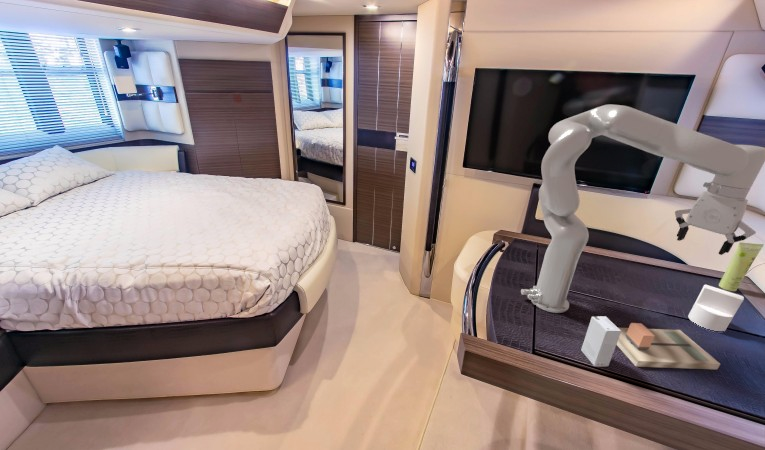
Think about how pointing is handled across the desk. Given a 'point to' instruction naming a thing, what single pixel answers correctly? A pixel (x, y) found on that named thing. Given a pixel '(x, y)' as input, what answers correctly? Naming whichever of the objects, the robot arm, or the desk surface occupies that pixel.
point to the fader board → (667, 351)
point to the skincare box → (600, 341)
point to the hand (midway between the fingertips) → (700, 246)
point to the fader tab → (639, 336)
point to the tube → (739, 265)
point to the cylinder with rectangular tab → (715, 308)
